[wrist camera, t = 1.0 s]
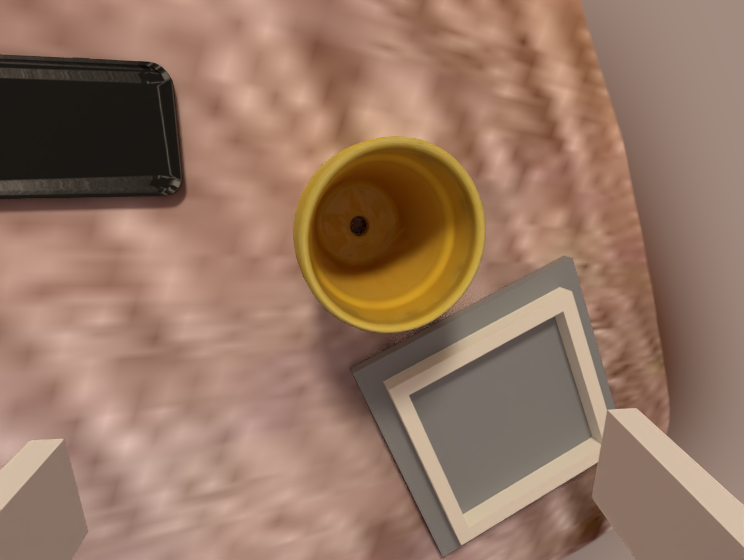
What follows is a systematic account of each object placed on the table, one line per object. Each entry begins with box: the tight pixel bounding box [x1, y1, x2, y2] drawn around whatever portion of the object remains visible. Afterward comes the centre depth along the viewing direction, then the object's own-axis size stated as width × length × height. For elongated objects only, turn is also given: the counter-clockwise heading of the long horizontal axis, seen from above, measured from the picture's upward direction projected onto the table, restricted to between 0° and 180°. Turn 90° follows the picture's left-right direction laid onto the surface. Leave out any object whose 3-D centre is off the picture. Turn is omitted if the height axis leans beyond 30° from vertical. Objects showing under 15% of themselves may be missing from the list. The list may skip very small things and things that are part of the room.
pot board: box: [350, 256, 615, 557], centre depth 38 cm, size 20×20×2 cm
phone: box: [0, 55, 183, 199], centre depth 26 cm, size 8×1×15 cm
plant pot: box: [293, 136, 485, 333], centre depth 28 cm, size 10×10×10 cm
